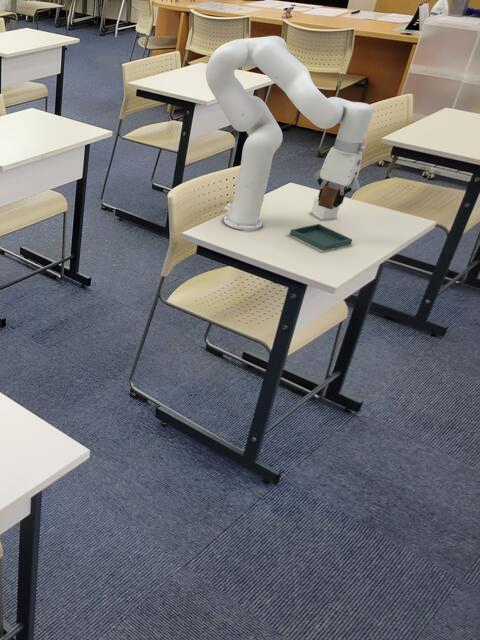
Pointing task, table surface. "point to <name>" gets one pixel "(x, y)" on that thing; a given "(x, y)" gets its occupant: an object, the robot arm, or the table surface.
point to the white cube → (323, 211)
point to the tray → (320, 237)
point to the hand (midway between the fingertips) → (329, 202)
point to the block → (329, 196)
